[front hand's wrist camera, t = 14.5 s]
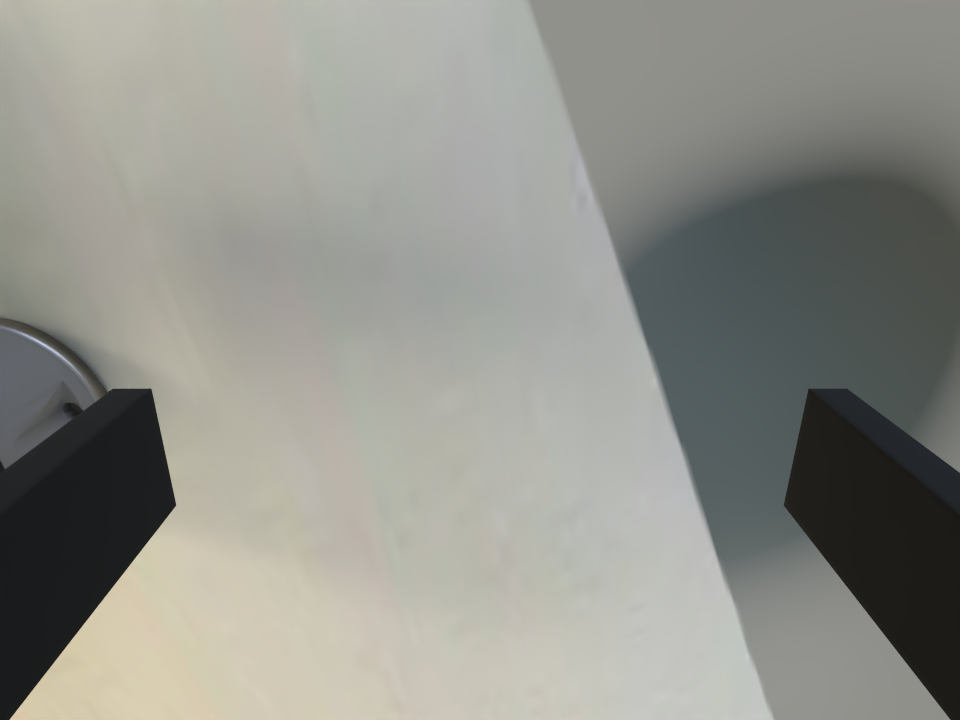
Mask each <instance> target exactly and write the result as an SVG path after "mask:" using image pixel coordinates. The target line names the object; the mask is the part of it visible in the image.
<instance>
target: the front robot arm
mask: <svg viewBox="0 0 960 720" xmlns="http://www.w3.org/2000/svg"><path fill="white" fill-rule="evenodd" d="M175 506H176V502H175V497H174V493H173V488H172V483H171V479H170V474H169V469H168V465H167V460H166V455H165V451H164V446H163V441H162V436H161V432H160V427H159V422H158V418H157V413H156V408H155V404H154V399H153V394H152V390H151V389H112V390H111V391H109V392H108V393H106V392H105V390H104V388H103V386H102V385H101V383H100V382H99V380H98V379H97V377H96V376H95V375H94V373H93V372H92V371H91V370H90V369H89V367H88V366H87V365H86V364H85V363H84V362H83V361H82V360H81V359H80V358H79V357H78V356H77V355H76V354H74V353H73V352H72V351H71V350H70V349H68V348H67V347H66V346H64V345H63V344H62V343H60V342H58V341H57V340H55V339H54V338H52V337H50V336H49V335H47V334H45V333H43V332H41V331H39V330H37V329H34V328H32V327H30V326H27V325H24V324H21V323H18V322H14V321H11V320H6V319H1V318H0V720H10V718H11V717H12V716H13V714H14V713H15V712H16V711H17V709H18V708H19V707H20V705H21V704H22V703H23V702H24V700H25V699H26V698H27V696H28V695H29V694H30V693H31V691H32V690H33V689H34V687H35V686H36V685H37V684H38V682H39V681H40V680H41V678H42V677H43V676H44V675H45V673H46V672H47V671H48V669H49V668H50V667H51V666H52V664H53V663H54V662H55V660H56V659H57V658H58V657H59V655H60V654H61V653H62V651H63V650H64V649H65V648H66V646H67V645H68V644H69V642H70V641H71V640H72V639H73V637H74V636H75V635H76V633H77V632H78V631H79V630H80V628H81V627H82V626H83V624H84V623H85V622H86V621H87V619H88V618H89V617H90V615H91V614H92V613H93V612H94V610H95V609H96V608H97V606H98V605H99V604H100V603H101V601H102V600H103V599H104V597H105V596H106V595H107V594H108V592H109V591H110V590H111V588H112V587H113V586H114V585H115V583H116V582H117V581H118V579H119V578H120V577H121V576H122V574H123V573H124V572H125V570H126V569H127V568H128V567H129V565H130V564H131V563H132V561H133V560H134V559H135V558H136V556H137V555H138V554H139V553H140V551H141V550H142V549H143V547H144V546H145V545H146V544H147V542H148V541H149V540H150V538H151V537H152V536H153V535H154V533H155V532H156V531H157V529H158V528H159V527H160V526H161V524H162V523H163V522H164V520H165V519H166V518H167V517H168V515H169V514H170V513H171V511H172V510H173V509H174V508H175ZM784 506H785V508H786V509H787V510H788V511H789V513H790V514H791V515H792V516H793V518H794V519H795V520H796V522H797V523H798V524H799V526H800V527H801V528H802V529H803V531H804V532H805V533H806V535H807V536H808V537H809V538H810V540H811V541H812V542H813V543H814V545H815V546H816V547H817V549H818V550H819V551H820V552H821V554H822V555H823V556H824V558H825V559H826V560H827V561H828V563H829V564H830V565H831V567H832V568H833V569H834V570H835V572H836V573H837V574H838V576H839V577H840V578H841V579H842V581H843V582H844V583H845V585H846V586H847V587H848V588H849V590H850V591H851V592H852V594H853V595H854V596H855V597H856V599H857V600H858V601H859V603H860V604H861V605H862V606H863V608H864V609H865V610H866V612H867V613H868V614H869V615H870V617H871V618H872V619H873V621H874V622H875V623H876V624H877V626H878V627H879V628H880V630H881V631H882V632H883V633H884V635H885V636H886V637H887V639H888V640H889V641H890V642H891V644H892V645H893V646H894V648H895V649H896V650H897V651H898V653H899V654H900V655H901V657H902V658H903V659H904V660H905V662H906V663H907V664H908V666H909V667H910V668H911V669H912V671H913V672H914V673H915V675H916V676H917V677H918V678H919V680H920V681H921V682H922V683H923V685H924V686H925V687H926V689H927V690H928V691H929V693H930V694H931V695H932V696H933V698H934V699H935V700H936V702H937V703H938V704H939V705H940V707H941V708H942V709H943V710H944V712H945V713H946V714H947V716H948V717H949V718H950V719H951V720H960V473H959V472H958V471H956V470H955V469H954V468H952V467H951V466H950V465H948V464H947V463H946V462H944V461H943V460H942V459H940V458H939V457H938V456H936V455H935V454H934V453H932V452H931V451H930V450H928V449H927V448H926V447H924V446H923V445H922V444H920V443H919V442H918V441H916V440H915V439H914V438H912V437H911V436H910V435H908V434H907V433H906V432H904V431H903V430H901V429H900V428H899V427H897V426H896V425H895V424H893V423H892V422H891V421H889V420H888V419H887V418H885V417H884V416H883V415H881V414H880V413H879V412H877V411H876V410H875V409H873V408H872V407H871V406H869V405H868V404H867V403H865V402H864V401H863V400H861V399H860V398H859V397H857V396H856V395H855V394H853V393H852V392H851V391H849V390H848V389H809V390H808V394H807V399H806V404H805V408H804V413H803V418H802V423H801V427H800V432H799V437H798V441H797V446H796V451H795V455H794V460H793V465H792V469H791V474H790V479H789V483H788V488H787V493H786V497H785V502H784Z"/></svg>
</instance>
